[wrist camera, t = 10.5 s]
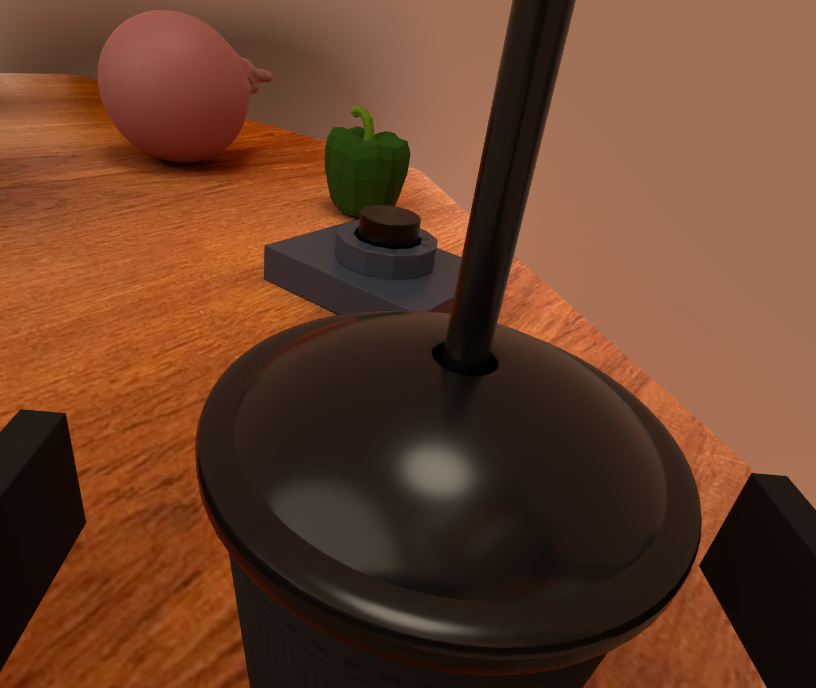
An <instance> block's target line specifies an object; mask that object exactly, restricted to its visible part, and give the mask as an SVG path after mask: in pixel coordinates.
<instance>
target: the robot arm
mask: <svg viewBox="0 0 816 688" xmlns="http://www.w3.org/2000/svg"><path fill="white" fill-rule="evenodd" d="M85 524H86V520H85V514H84V509H83V504H82V498H81V493H80V487H79V482H78V477H77V471H76V466H75V460H74V455H73V450H72V444H71V439H70V433H69V428H68V423H67V417H66V413H57V412H45V411H34V410H22V409H20V411H19V412H18V413H17V414H16V415H15V416H14V417H13V418H12V420H11V421H10V422H9V423H8V424H7V425H6V426H5V427H4V428H3V430H2V431H1V432H0V671H1V670H2V668H3V666H4V665H5V663H6V661H7V659H8V658H9V656H10V654H11V652H12V651H13V649H14V647H15V645H16V644H17V642H18V640H19V638H20V637H21V635H22V633H23V632H24V630H25V628H26V626H27V625H28V623H29V621H30V619H31V618H32V616H33V614H34V612H35V611H36V609H37V607H38V605H39V604H40V602H41V600H42V599H43V597H44V595H45V593H46V592H47V590H48V588H49V586H50V585H51V583H52V581H53V579H54V578H55V576H56V574H57V572H58V571H59V569H60V567H61V566H62V564H63V562H64V560H65V559H66V557H67V555H68V553H69V552H70V550H71V548H72V546H73V545H74V543H75V541H76V539H77V538H78V536H79V534H80V532H81V531H82V529H83V527H84V526H85ZM699 567H700V568H701V570H702V572H703V574H704V576H705V577H706V579H707V581H708V583H709V585H710V586H711V588H712V590H713V592H714V594H715V595H716V597H717V599H718V601H719V603H720V604H721V606H722V608H723V610H724V612H725V613H726V615H727V617H728V619H729V621H730V622H731V624H732V626H733V628H734V630H735V631H736V633H737V635H738V637H739V639H740V640H741V642H742V644H743V646H744V648H745V649H746V651H747V653H748V655H749V657H750V658H751V660H752V662H753V664H754V666H755V667H756V669H757V671H758V673H759V675H760V676H761V678H762V680H763V682H764V684H765V685H766V687H767V688H816V510H815V509H814V508H813V506H812V505H811V504H810V503H809V502H808V500H807V499H806V498H805V497H804V496H803V495H802V493H801V492H800V491H799V490H798V489H797V488H796V486H795V485H794V484H793V483H792V482H791V481H790V479H789V478H788V477H787V476H779V475H768V474H756V473H751V475H750V477H749V478H748V480H747V482H746V484H745V485H744V487H743V489H742V491H741V492H740V494H739V496H738V498H737V500H736V501H735V503H734V505H733V507H732V508H731V510H730V512H729V514H728V516H727V517H726V519H725V521H724V523H723V524H722V526H721V528H720V530H719V531H718V533H717V535H716V537H715V539H714V540H713V542H712V544H711V546H710V547H709V549H708V551H707V553H706V555H705V556H704V558H703V560H702V562H701V563H700V565H699Z"/></svg>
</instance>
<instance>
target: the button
mask: <svg viewBox="0 0 816 688" xmlns="http://www.w3.org/2000/svg"><path fill="white" fill-rule="evenodd" d="M420 222H421V219H420V217H419V216H418V215H417V214H416V213H414V212H412V211H409V210H407V209H403V208H399V207H394V206H386V205H373V206H367V207H364V208H363V209H362V210H361V211H360V219H359V228H358V239H359V240H360V241H362V242H365V243H367V244H370V245H372V246H376V247H382V248H388V249H411V248H413V247H416V246H417V241H418V235H419V229H420Z"/></svg>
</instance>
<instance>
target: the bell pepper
mask: <svg viewBox="0 0 816 688" xmlns="http://www.w3.org/2000/svg"><path fill="white" fill-rule="evenodd" d="M351 113H352V114H353V116H354V117H358V116H360V117H361V118H362V120H363V124H364V129H363V128H361V127H357V126H356V127H353V128H350V129H346V128H344V127H341V128H340V127H333V128H332V130H331V132H330V134H329V136H328V138H327V142H326V147H325V169H326V176H327V183H328V188H329V192H330V197H331V199H332V201H333V202H334V204H335V205H337V207H338V209H339V210H340V211H341V212H342V213H344V214H347V215H350V216H353V217H360V211H361V210H362V209H363V208H364V207H367V206H373V205H386V206H395V205H396V202H397V200H398V197H399V195H400V192H401V190H402V187H403V184H404V181H405V178H406V176H407V172H408V166H409V159H410V150H409V146H408V142H407V141H405V140H403V139H400V138H398V137H397V136H396V134H395V133H391V132H387V131H386V132H381V133H378V134H375V135H374V127H373V119H372V117H371V115H370V113H369V112H368V111H367V110H366V109H364V108H362V107H353V108H352V109H351Z"/></svg>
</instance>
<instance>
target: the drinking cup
mask: <svg viewBox="0 0 816 688" xmlns="http://www.w3.org/2000/svg"><path fill="white" fill-rule="evenodd" d="M575 1H576V0H513V1H512V6H511V11H510V16H509V21H508V26H507V32H506V36H505V41H504V46H503V51H502V57H501V61H500V66H499V72H498V77H497V82H496V87H495V92H494V97H493V102H492V107H491V113H490V118H489V122H488V127H487V132H486V137H485V143H484V148H483V153H482V158H481V163H480V168H479V173H478V178H477V183H476V188H475V193H474V199H473V203H472V208H471V213H470V218H469V223H468V229H467V234H466V239H465V244H464V249H463V254H462V259H461V264H460V269H459V274H458V279H457V284H456V289H455V294H454V299H453V304H452V310H451V314H450V313H441V312H421V311H369V312H357V313H349V314H342V315H336V316H331V317H326V318H322V319H318V320H313V321H310V322H307V323H304V324H300V325H297V326H294V327H292V328H289V329H287V330H284V331H282V332H279V333H277V334H275V335H273V336H271V337H269V338H267V339H265V340H264V341H262V342H260V343H259V344H257V345H255V346H254V347H252V348H251V349H250V350H248V351H247V352H246V353H244V354H243V355H242V356H240V357H239V358H238V359H237V360H236V361H235V362H234V363H233V364H231V366H230V367H229V368H228V369H227V370H226V371H225V372H224V373H223V374H222V376H221V377H220V378H219V380H218V381H217V383H216V384H215V386H214V387H213V389H212V390H211V392H210V394H209V396H208V398H207V400H206V402H205V404H204V406H203V409H202V412H201V415H200V419H199V422H198V426H197V434H196V443H195V450H196V471H197V480H198V484H199V490H200V495H201V499H202V501H203V504H204V507H205V510H206V513H207V515H208V518H209V520H210V522H211V524H212V526H213V528H214V530H215V532H216V534H217V535H218V537H219V539H220V540H221V541H222V543H223V544H224V546H225V547H226V549H227V550H228V552H229V557H230V563H231V570H232V576H233V582H234V589H235V595H236V601H237V608H238V614H239V620H240V627H241V633H242V639H243V646H244V652H245V658H246V665H247V671H248V677H249V684H250V688H583V686H584V685H585V683H586V682H587V681H588V679H589V678H590V676H591V675H592V674H593V672H594V671H595V669H596V668H597V667H598V665H599V664H600V662H601V661H602V660H603V658H604V657H605V655H606V654H607V653H608V652H609V651H611V650H613V649H615V648H617V647H618V646H620V645H622V644H624V643H625V642H627V641H629V640H631V639H632V638H634V637H636V636H637V635H638V634H640V633H641V632H642V631H643V630H645V629H646V628H647V627H649V626H650V625H651V624H652V623H653V622H655V620H656V619H657V618H658V617H659V616H660V615H661V614H662V613H663V612H664V611H665V610H666V609H667V607H668V606H669V605H670V603H671V602H672V600H673V599H674V597H675V596H676V594H677V593H678V592H679V590H680V589H681V587H682V585H683V583H684V582H685V580H686V578H687V576H688V574H689V572H690V570H691V567H692V565H693V563H694V561H695V558H696V555H697V551H698V547H699V543H700V538H701V509H700V499H699V494H698V490H697V485H696V482H695V479H694V477H693V474H692V471H691V468H690V466H689V464H688V462H687V460H686V458H685V456H684V454H683V452H682V451H681V449H680V447H679V446H678V444H677V443H676V441H675V440H674V438H673V437H672V435H671V434H670V433H669V432H668V430H667V429H666V428H665V426H664V425H663V424H662V423H661V421H660V420H659V419H658V418H657V417H656V416H655V415H654V414H653V413H652V412H651V411H650V410H649V409H648V408H647V407H646V406H645V405H644V404H643V403H642V402H641V401H640V400H639V399H638V398H637V397H635V396H634V395H633V394H632V393H631V392H629V391H628V390H627V389H626V388H624V387H623V386H622V385H621V384H619V383H618V382H616V381H615V380H614V379H612V378H611V377H609V376H608V375H607V374H605V373H603V372H602V371H600V370H599V369H597V368H596V367H594V366H592V365H591V364H589V363H587V362H585V361H584V360H582V359H580V358H578V357H577V356H575V355H573V354H571V353H569V352H567V351H565V350H563V349H561V348H558V347H556V346H554V345H552V344H549V343H547V342H545V341H542V340H540V339H537V338H535V337H532V336H530V335H527V334H525V333H522V332H520V331H517V330H515V329H512V328H509V327H506V326H503V325H500V324H497V322H498V317H499V313H500V309H501V305H502V301H503V297H504V293H505V289H506V285H507V281H508V276H509V272H510V268H511V264H512V260H513V256H514V252H515V248H516V244H517V239H518V235H519V231H520V227H521V223H522V219H523V215H524V210H525V207H526V202H527V198H528V194H529V190H530V186H531V182H532V178H533V174H534V170H535V165H536V161H537V157H538V153H539V149H540V145H541V141H542V137H543V133H544V128H545V124H546V120H547V116H548V112H549V108H550V104H551V99H552V96H553V92H554V88H555V83H556V79H557V75H558V71H559V67H560V63H561V59H562V55H563V50H564V46H565V42H566V38H567V34H568V30H569V26H570V21H571V18H572V14H573V10H574V5H575Z"/></svg>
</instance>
